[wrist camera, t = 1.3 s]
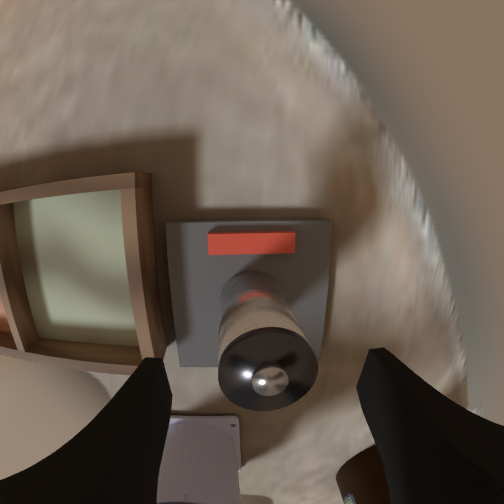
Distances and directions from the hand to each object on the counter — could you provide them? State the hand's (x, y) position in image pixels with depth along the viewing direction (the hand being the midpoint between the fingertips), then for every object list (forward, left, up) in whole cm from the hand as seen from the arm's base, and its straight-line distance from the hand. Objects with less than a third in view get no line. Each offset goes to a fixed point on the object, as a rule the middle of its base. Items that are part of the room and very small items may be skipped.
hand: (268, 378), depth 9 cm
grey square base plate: (-1, 0, -10) cm, 10 cm away
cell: (-1, 0, -9) cm, 9 cm away
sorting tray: (+1, +17, -10) cm, 19 cm away
